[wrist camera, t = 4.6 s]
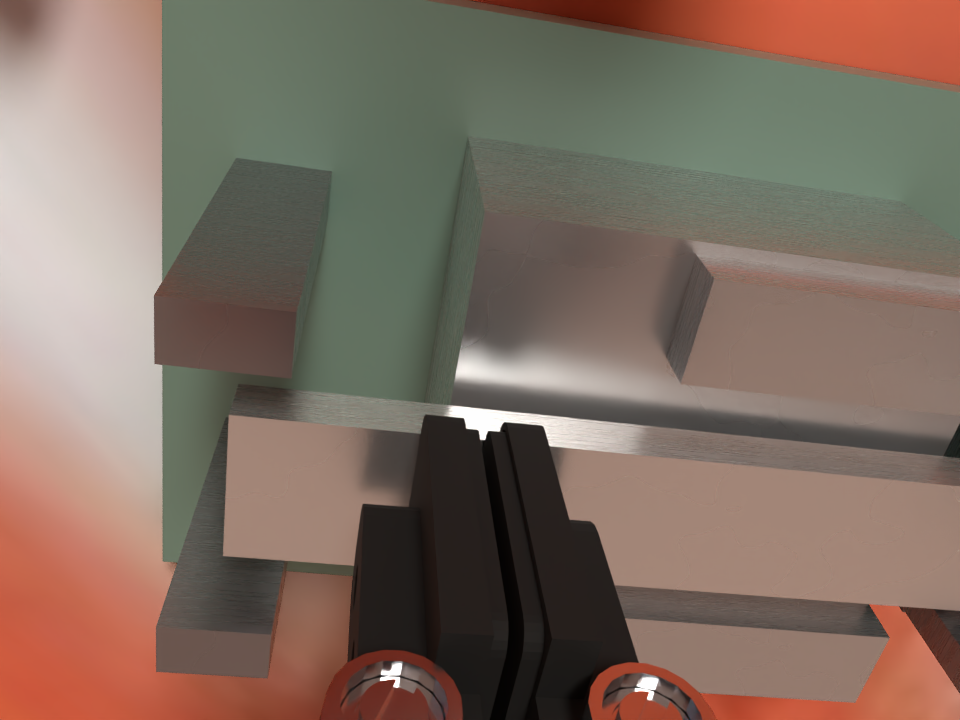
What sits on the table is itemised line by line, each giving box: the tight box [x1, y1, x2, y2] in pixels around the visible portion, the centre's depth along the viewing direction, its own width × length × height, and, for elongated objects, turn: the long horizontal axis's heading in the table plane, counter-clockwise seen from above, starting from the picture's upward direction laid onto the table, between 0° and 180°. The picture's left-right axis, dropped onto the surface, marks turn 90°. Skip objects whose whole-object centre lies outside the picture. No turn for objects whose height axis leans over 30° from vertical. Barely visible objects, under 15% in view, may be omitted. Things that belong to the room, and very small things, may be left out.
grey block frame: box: [154, 136, 960, 703], centre depth 15 cm, size 15×8×6 cm, turn 81°
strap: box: [223, 384, 960, 611], centre depth 13 cm, size 14×3×1 cm, turn 81°
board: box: [162, 0, 960, 576], centre depth 18 cm, size 16×12×1 cm
